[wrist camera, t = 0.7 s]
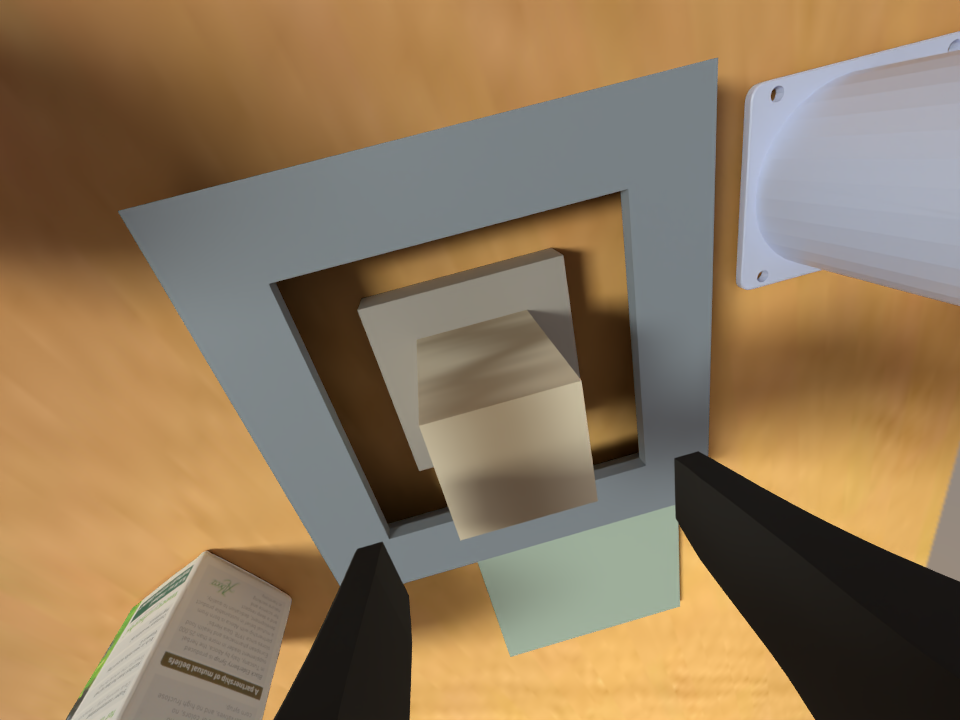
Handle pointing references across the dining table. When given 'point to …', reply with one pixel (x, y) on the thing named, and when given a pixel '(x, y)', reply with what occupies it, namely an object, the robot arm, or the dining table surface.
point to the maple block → (503, 424)
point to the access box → (456, 293)
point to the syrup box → (192, 650)
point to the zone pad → (585, 581)
